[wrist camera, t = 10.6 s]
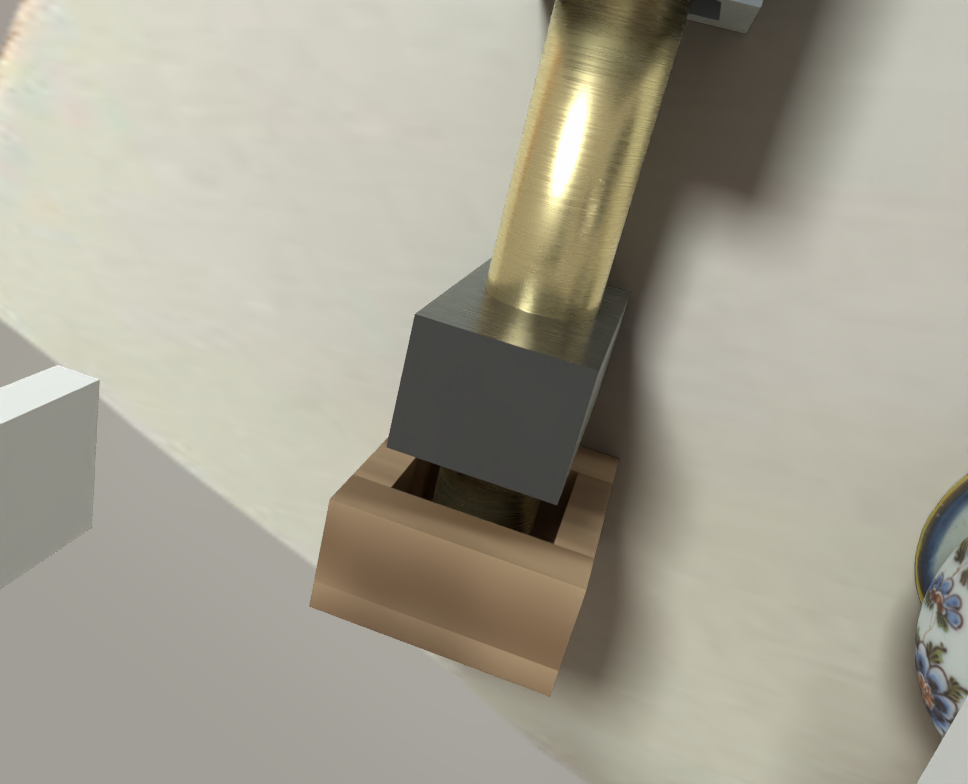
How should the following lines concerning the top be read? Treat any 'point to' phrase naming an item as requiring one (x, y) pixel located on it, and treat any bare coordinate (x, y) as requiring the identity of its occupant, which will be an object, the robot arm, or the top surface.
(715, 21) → the sleeve
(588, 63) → the tube
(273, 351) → the top surface
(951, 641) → the apothecary jar
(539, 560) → the socket block
